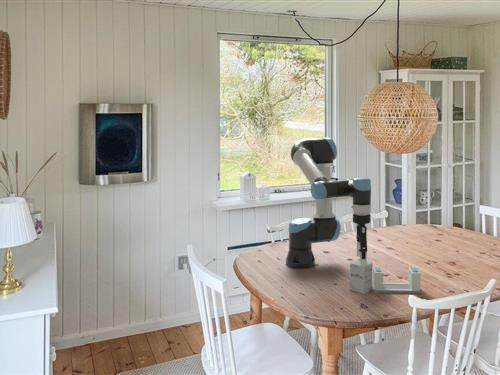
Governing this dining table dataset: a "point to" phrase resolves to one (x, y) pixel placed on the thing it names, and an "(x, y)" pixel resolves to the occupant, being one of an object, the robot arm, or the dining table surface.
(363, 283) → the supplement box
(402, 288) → the grey holder stand
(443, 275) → the dining table surface
